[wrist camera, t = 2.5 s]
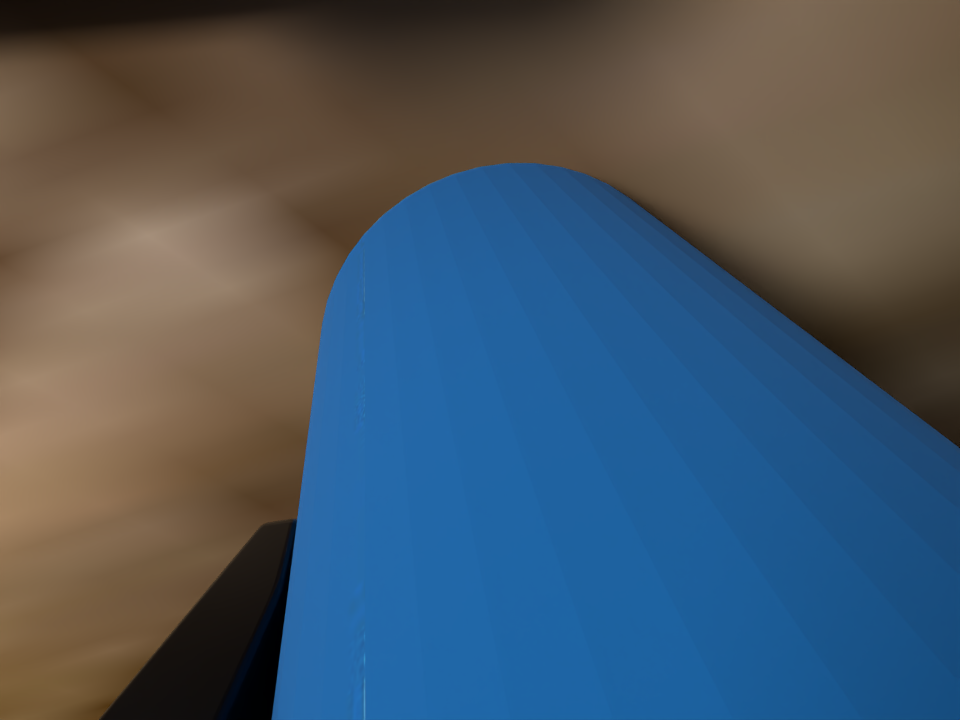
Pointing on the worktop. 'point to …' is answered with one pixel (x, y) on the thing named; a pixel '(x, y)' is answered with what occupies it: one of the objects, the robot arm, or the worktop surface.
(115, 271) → the worktop surface
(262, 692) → the robot arm
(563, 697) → the beverage can
